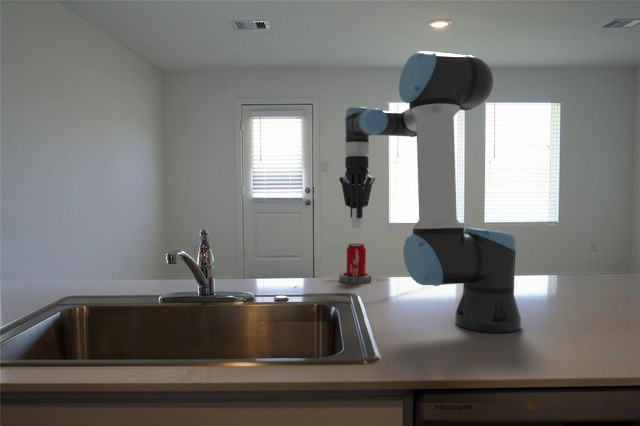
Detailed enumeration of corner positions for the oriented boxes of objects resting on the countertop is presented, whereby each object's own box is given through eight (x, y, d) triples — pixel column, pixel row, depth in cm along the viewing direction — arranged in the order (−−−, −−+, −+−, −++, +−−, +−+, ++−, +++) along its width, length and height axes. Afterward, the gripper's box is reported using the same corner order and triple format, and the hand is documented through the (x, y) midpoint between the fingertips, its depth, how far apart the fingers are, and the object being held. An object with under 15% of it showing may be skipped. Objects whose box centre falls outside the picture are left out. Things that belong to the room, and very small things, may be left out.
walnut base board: (356, 292, 161) (356, 287, 161) (321, 286, 170) (321, 281, 170) (388, 283, 175) (388, 279, 175) (354, 278, 184) (354, 274, 184)
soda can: (343, 279, 174) (343, 243, 173) (359, 278, 177) (360, 242, 176) (352, 283, 168) (352, 246, 167) (368, 281, 171) (369, 245, 170)
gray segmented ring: (358, 285, 165) (358, 278, 165) (333, 280, 172) (333, 274, 172) (377, 280, 173) (377, 274, 173) (352, 276, 180) (352, 270, 180)
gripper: (380, 155, 168) (379, 228, 170) (348, 157, 177) (347, 226, 178) (366, 154, 163) (365, 230, 164) (334, 156, 171) (333, 227, 173)
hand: (356, 228), depth 171 cm, fingers closed
